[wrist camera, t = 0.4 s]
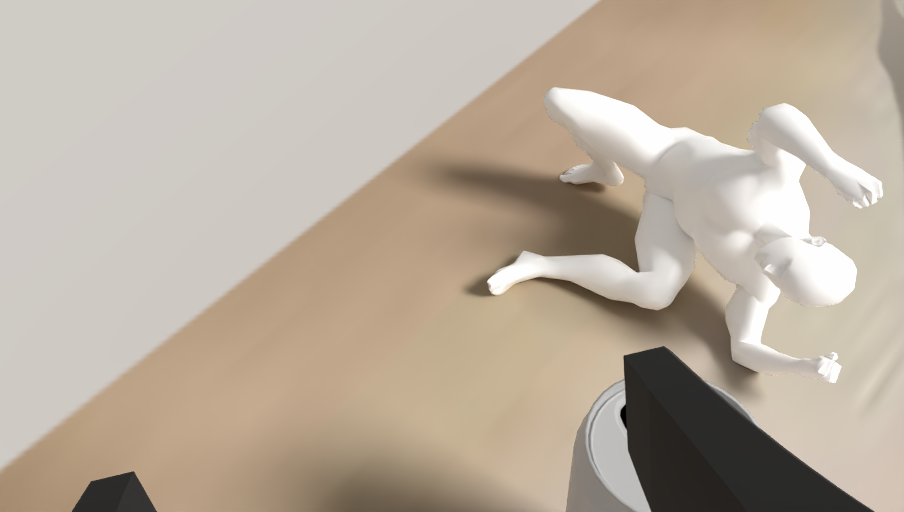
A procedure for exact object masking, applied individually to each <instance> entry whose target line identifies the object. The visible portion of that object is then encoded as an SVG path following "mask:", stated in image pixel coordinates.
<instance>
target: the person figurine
mask: <svg viewBox="0 0 904 512" xmlns="http://www.w3.org/2000/svg"><path fill="white" fill-rule="evenodd" d="M543 101H544V104H545V107H546V110H547V113H548V115H549V118H550V119H551V120H552V121H553V122H555V123H557V124H559V125H562V126H563V127H564V128H565V129H566V130H567V131H568V132H569V133H570V135H571V137H572V138H573V140H574V142H575V144H576V146H578V147H579V148H581V149H582V150H583V151H585V152H586V153H587V154H588V156H589V157H590V158H591V159H592V160H593V163H591V164H590V165H583V164H580V165H578V166H575V167H574V168H570V169H569V170H568V171H567V172H565V174H564V175H561V176H560V180H562V181H563V182H567V183H568V182H571V183H573V184H575V185H577V184H583V183H589V182H597V183H602V184H606V185H611V186H617V185H619V184H622V183H623V180H624V177H623V175H622V173H621V171H620V170H619V168H618V167H617V165H616V163H617V164H619V165H621V166H623V167H624V168H626V169H628V170H630V171H632V172H633V173H635V174H637V175H639V176H640V177H642V178H644V179H645V185H644V187H645V188H646V189H647V190H646V192H645V194H644V196H643V206H642V213H641V217H640V221H639V224H638V228H637V232H636V235H635V245H636V252H637V259H638V266H639V273H637V272H635V271H634V270H632V269H631V268H630V267H628V266H627V265H625V264H624V263H622V262H621V261H620V260H617V259H615V258H612V257H609V256H606V255H604V254H595V255H574V256H547V257H544V256H541V255H538V254H535V253H532V252H528V251H523V252H522V253H521V254H520V256H519V257H518V258H517V260H516V261H515V262H514V263H513V264H511V265H510V266H507V267H504V268H501V269H498V270H497V271H496V272H495V274H494V275H493V276H492V277H491V278H490V279H489V280H488V281H487V283H488V286H489V290H490V291H491V294H494V295H495V296H497V295H503V294H504V293H505V292H506V291H507V289H509V288H510V287H512V286H513V285H514V284H516V283H518V282H522V281H525V280H529V279H532V278H536V277H546V278H554V279H561V280H568V281H571V282H574V283H576V284H578V285H580V286H582V287H584V288H586V289H589V290H591V291H593V292H595V293H597V294H599V295H602V296H604V297H606V298H608V299H611V300H618V301H624V302H631V303H634V304H636V305H638V306H639V307H642V308H648V309H653V310H660V309H662V308H665V307H668V306H669V305H670V304H671V303H672V302H673V300H674V298H675V297H676V295H677V293H678V292H679V291H680V289H681V288H682V287H683V286H684V285H685V283H686V282H687V280H688V278H689V277H690V275H691V273H692V271H693V270H694V268H695V263H696V257H697V251H698V250H699V251H700V253H701V254H702V255H703V257H704V258H705V260H706V261H707V262H708V263H709V264H710V265H711V266H712V267H713V268H714V269H715V270H716V271H717V272H718V273H719V274H720V275H721V276H722V277H723V278H724V279H725V280H727V281H730V282H732V283H735V284H736V291H735V293H734V294H733V296H732V298H731V299H730V301H729V303H728V304H727V306H726V319H725V321H726V324H727V327H728V330H729V333H730V336H731V355H732V360H733V361H735V362H736V363H738V364H740V365H742V366H745V367H747V368H749V369H751V370H753V371H755V372H759V373H762V374H766V375H770V376H773V375H783V374H796V375H801V376H806V377H810V378H814V379H818V380H821V381H825V382H828V383H829V382H832V383H836V380H837V378H838V375H839V372H840V369H841V366H840V365H839V364H837V363H836V362H834V361H835V360H837V359H838V357H837V353H833V352H832V353H830V354H827V355H823V356H820V357H817V358H815V359H812V360H810V359H808V358H806V359H797V358H793V357H790V356H788V355H785V354H782V353H779V352H777V351H775V350H773V349H771V348H769V347H767V346H765V345H762V344H761V342H760V338H761V334H762V330H763V326H764V323H765V319H766V316H767V313H768V309H769V308H770V307H771V306H772V305H773V304H774V303H775V302H776V300H777V298H778V296H779V293H780V291H781V294H782V295H783V296H785V297H787V298H789V299H791V300H792V301H794V302H796V303H798V304H800V305H803V306H818V307H827V306H830V305H834V304H837V303H840V302H841V301H842V300H843V299H844V298H845V297H846V296H847V295H848V294H849V293H850V292H851V291H852V290H853V289H854V286H855V279H856V272H857V269H856V267H855V265H854V263H853V261H852V260H851V259H850V258H848V257H847V256H846V255H844V254H843V253H842V252H841V251H839V250H838V249H837V248H835V247H834V246H832V245H831V244H827V243H826V240H825V239H824V238H823V237H811V236H810V235H809V233H808V228H809V213H810V210H809V208H808V205H807V202H806V200H805V197H804V194H803V192H802V189H801V186H800V184H799V177H800V175H801V173H802V171H803V169H804V167H805V164H806V165H808V166H809V167H810V168H812V169H813V170H814V171H816V172H817V173H819V174H820V175H822V176H823V177H824V178H826V179H827V180H828V181H829V182H830V184H831V185H832V186H833V188H834V189H835V191H836V192H837V193H838V194H839V195H840V196H842V197H843V198H845V199H846V200H847V201H849V202H850V203H852V204H853V205H854V206H855V207H857V208H862V206H864V207H867V206H869V205H870V204H871V205H872V204H874V203H876V202H878V201H877V198H876V197H878V198H881V197H882V195H883V191H882V185H881V182H880V181H879V180H877V179H876V178H874V177H872V176H871V175H869V174H868V173H866V172H865V171H863V170H861V169H860V168H858V167H856V166H854V165H852V164H851V163H849V162H847V161H845V160H844V159H842V158H841V157H839V156H838V155H836V154H835V153H833V152H832V150H831V149H830V148H829V146H828V145H827V144H826V142H825V141H824V139H823V138H822V137H821V135H820V134H819V133H818V131H817V130H816V129H815V127H814V126H813V125H812V123H811V122H810V121H809V119H808V118H807V117H806V116H805V115H804V114H802V113H801V112H800V111H799V110H797V109H796V108H795V107H793V106H791V105H788V104H786V103H783V104H779V105H776V106H772V107H768V108H765V109H762V111H761V112H760V113H759V120H758V121H756V122H754V123H752V126H751V128H750V130H749V134H748V138H747V141H748V142H749V143H750V144H751V146H752V147H753V148H754V149H755V151H752V150H742V149H739V148H736V147H732V146H729V145H726V144H723V143H720V142H719V141H717V140H716V139H715V138H713V137H709V136H704V135H702V134H699V133H697V132H695V131H693V130H691V129H688V128H686V127H683V128H671V129H670V128H667V127H664V126H662V125H659V124H657V123H656V122H655V121H653V120H652V119H651V118H649V117H648V116H647V115H645V114H644V113H643V112H641V111H640V110H639V109H638V108H636V107H635V106H633V105H630V104H627V103H624V102H621V101H618V100H615V99H612V98H609V97H606V96H603V95H600V94H597V93H594V92H591V91H584V90H574V89H564V88H557V87H553V88H552V89H550V90H548V92H547V93H546V95H545V96H544V98H543ZM615 162H616V163H615Z"/></svg>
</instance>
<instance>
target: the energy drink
mask: <svg viewBox="0 0 904 512" xmlns="http://www.w3.org/2000/svg"><path fill="white" fill-rule="evenodd" d="M703 381H704V380H703ZM705 382H706V383H707V384H708V385H709V386H710V387H711V388H712V389H714V390H715V391H716V392H717V393H718V394H719V395H721V396H722V397H723V398H724V399H725V400H726V401H728V402H729V403H730V404H731V405H732V406H733V407H734V408H736V409H737V410H738V411H739V412H740V413H742V414H743V415H744V416H745V417H746V418H748V419H749V420H750V421H751V422H753V423H754V424H755V425H756V426H758V427H759V428H760V426H759V425H758V423H757V422H756V421H755V419H754V418H753V416H752V415H751V413H750V412H749V411H748V410H747V409H746V408H745V407H744V406H743V405H742V404H741V403H740V402H739V401H738V400H736V399H735V398H734V397H732V396H731V395H730V394H728V393H727V392H726V391H724V390H722V389H721V388H719V387H717V386H715V385H713V384H711V383H709V382H707V381H705ZM760 429H761V428H760ZM566 512H651V510H650V507H649V505H648V502H647V500H646V497H645V495H644V492H643V489H642V487H641V484H640V482H639V479H638V476H637V474H636V471H635V468H634V466H633V463H632V460H631V458H630V455H629V452H628V443H627V421H626V399H625V379H623V380H621V381H619V382H617V383H615V384H613V385H612V386H611V387H609V388H608V389H607V390H605V391H604V392H603V393H602V394H601V395H600V396H599V397H598V399H597V400H596V401H595V402H594V403H593V405H592V407H591V409H590V411H589V413H588V414H587V415H586V416H585V417H584V419H583V421H582V423H581V425H580V427H579V429H578V431H577V435H576V440H575V444H574V450H573V458H572V466H571V474H570V482H569V490H568V498H567V506H566Z"/></svg>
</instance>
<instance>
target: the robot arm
mask: <svg viewBox="0 0 904 512" xmlns="http://www.w3.org/2000/svg"><path fill="white" fill-rule="evenodd" d="M624 376H625V399H626V421H627V443H628V452H629V455H630V458H631V460H632V463H633V466H634V468H635V471H636V474H637V476H638V479H639V482H640V484H641V487H642V489H643V492H644V495H645V497H646V500H647V502H648V505H649V507H650V510H651V512H874V511H873V510H871V509H870V508H868V507H867V506H865V505H864V504H862V503H861V502H859V501H857V500H856V499H855V498H853V497H852V496H850V495H849V494H847V493H846V492H844V491H843V490H841V489H840V488H838V487H837V486H836V485H834V484H833V483H832V482H830V481H829V480H827V479H826V478H825V477H823V476H822V475H820V474H819V473H818V472H816V471H815V470H813V469H812V468H811V467H809V466H808V465H806V464H805V463H804V462H802V461H801V460H800V459H799V458H797V457H796V456H795V455H793V454H792V453H791V452H789V451H788V450H787V449H785V448H784V447H783V446H782V445H780V444H779V443H778V442H777V441H775V440H774V439H773V438H771V437H770V436H769V435H768V434H766V433H765V432H764V431H763V430H761V429H760V428H759V427H758V426H756V425H755V424H754V423H753V422H751V421H750V420H749V419H748V418H746V417H745V416H744V415H743V414H742V413H740V412H739V411H738V410H737V409H736V408H734V407H733V406H732V405H731V404H730V403H729V402H728V401H726V400H725V399H724V398H723V397H722V396H721V395H719V394H718V393H717V392H716V391H715V390H714V389H712V388H711V387H710V386H709V385H708V384H707V383H706V382H705V381H703V380H702V379H701V378H700V377H699V376H698V375H697V374H696V373H695V372H693V371H692V370H691V369H690V368H689V367H688V366H687V365H686V364H685V363H684V362H682V361H681V360H680V359H679V358H678V357H677V356H676V355H675V354H674V353H673V352H672V351H670V350H669V349H667V348H666V347H664V346H663V347H659V348H654V349H650V350H646V351H642V352H637V353H633V354H629V355H625V356H624ZM72 512H157V511H156V510H155V508H154V506H153V504H152V503H151V501H150V499H149V497H148V495H147V494H146V492H145V490H144V488H143V487H142V485H141V483H140V481H139V480H138V478H137V476H136V474H135V473H134V471H133V472H129V473H125V474H121V475H116V476H112V477H108V478H104V479H99V480H95V481H91V482H90V484H89V485H88V487H87V489H86V490H85V492H84V493H83V495H82V496H81V498H80V499H79V501H78V503H77V504H76V506H75V507H74V509H73V511H72Z"/></svg>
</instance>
